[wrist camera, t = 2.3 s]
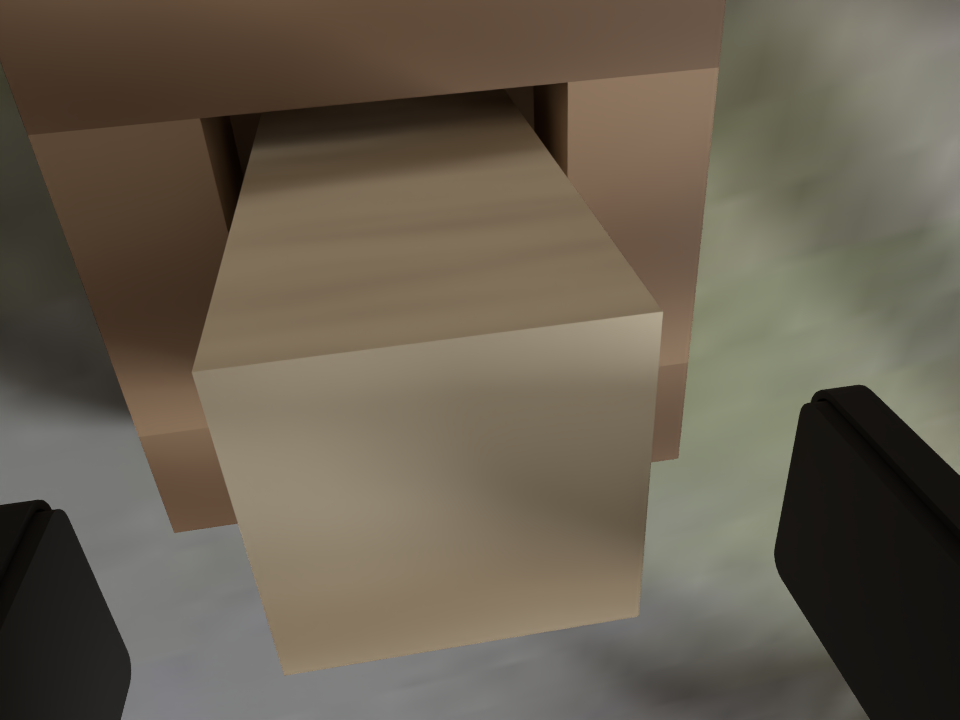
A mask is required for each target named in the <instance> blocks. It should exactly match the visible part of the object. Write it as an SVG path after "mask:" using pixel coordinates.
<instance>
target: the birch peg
mask: <svg viewBox="0 0 960 720" xmlns="http://www.w3.org/2000/svg"><path fill="white" fill-rule="evenodd" d="M662 319H663V311H662V309H661V308H660V307H659V305H658V304H657V302H656V301H655V300H654V298H653V297H652V295H651V294H650V293H649V291H648V290H647V288H646V287H645V286H644V284H643V283H642V281H641V280H640V279H639V277H638V276H637V274H636V273H635V272H634V270H633V269H632V267H631V266H630V265H629V263H628V262H627V260H626V259H625V258H624V256H623V255H622V253H621V252H620V251H619V249H618V248H617V246H616V245H615V244H614V242H613V241H612V239H611V238H610V237H609V235H608V234H607V232H606V231H605V230H604V228H603V227H602V225H601V224H600V223H599V221H598V220H597V218H596V217H595V216H594V214H593V213H592V211H591V210H590V209H589V207H588V206H587V204H586V203H585V202H584V200H583V199H582V197H581V196H580V195H579V193H578V192H577V190H576V189H575V188H574V186H573V185H572V183H571V182H570V181H569V179H568V178H567V176H566V175H565V174H564V172H563V171H562V169H561V168H560V167H559V165H558V164H557V162H556V161H555V160H554V158H553V157H552V155H551V154H550V153H549V151H548V150H547V148H546V147H545V146H544V144H543V143H542V141H541V140H540V139H539V137H538V136H537V134H536V133H535V132H534V130H533V129H532V127H531V126H530V125H529V123H528V122H527V121H526V119H525V118H524V116H523V115H522V114H521V112H520V111H519V109H518V108H517V107H516V105H515V104H514V102H513V101H512V100H511V98H510V97H509V95H508V94H507V93H506V91H505V90H504V89H495V90H484V91H474V92H464V93H454V94H444V95H433V96H423V97H413V98H403V99H393V100H382V101H372V102H362V103H352V104H342V105H331V106H321V107H311V108H301V109H291V110H280V111H270V112H262V114H261V117H260V121H259V125H258V128H257V132H256V136H255V139H254V143H253V147H252V151H251V154H250V158H249V162H248V165H247V169H246V173H245V176H244V180H243V184H242V188H241V191H240V195H239V199H238V202H237V206H236V210H235V214H234V217H233V221H232V225H231V228H230V232H229V236H228V239H227V243H226V247H225V251H224V254H223V258H222V262H221V265H220V269H219V273H218V277H217V280H216V284H215V288H214V291H213V295H212V299H211V302H210V306H209V310H208V314H207V317H206V321H205V325H204V328H203V332H202V336H201V339H200V343H199V347H198V351H197V354H196V358H195V362H194V365H193V369H192V375H193V378H194V381H195V385H196V388H197V391H198V395H199V398H200V401H201V404H202V408H203V411H204V414H205V418H206V421H207V424H208V427H209V431H210V434H211V437H212V440H213V444H214V447H215V450H216V454H217V457H218V460H219V463H220V467H221V470H222V473H223V476H224V480H225V483H226V486H227V490H228V493H229V496H230V499H231V503H232V506H233V509H234V512H235V516H236V519H237V522H238V526H239V529H240V532H241V535H242V539H243V542H244V545H245V549H246V552H247V555H248V558H249V562H250V565H251V568H252V571H253V575H254V578H255V581H256V585H257V588H258V591H259V594H260V598H261V601H262V604H263V607H264V611H265V614H266V617H267V621H268V624H269V627H270V630H271V634H272V637H273V640H274V643H275V647H276V650H277V653H278V657H279V660H280V663H281V666H282V670H283V673H284V676H285V675H291V674H297V673H303V672H309V671H315V670H321V669H327V668H333V667H339V666H345V665H351V664H357V663H363V662H369V661H375V660H381V659H387V658H393V657H399V656H405V655H410V654H416V653H422V652H428V651H434V650H440V649H446V648H452V647H458V646H464V645H470V644H476V643H482V642H488V641H494V640H500V639H506V638H512V637H518V636H524V635H530V634H536V633H542V632H548V631H554V630H560V629H566V628H572V627H578V626H584V625H590V624H596V623H602V622H608V621H614V620H620V619H626V618H632V617H638V616H639V606H640V593H641V581H642V568H643V556H644V543H645V531H646V518H647V506H648V493H649V481H650V468H651V456H652V443H653V431H654V419H655V406H656V394H657V381H658V369H659V356H660V344H661V331H662Z"/></svg>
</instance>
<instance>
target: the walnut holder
mask: <svg viewBox="0 0 960 720" xmlns="http://www.w3.org/2000/svg"><path fill="white" fill-rule="evenodd" d="M725 3H726V0H0V61H1V64H2V67H3V70H4V72H5V75H6V78H7V80H8V83H9V86H10V89H11V91H12V94H13V97H14V99H15V102H16V105H17V108H18V110H19V113H20V116H21V118H22V121H23V124H24V127H25V129H26V132H27V135H28V137H29V140H30V143H31V146H32V148H33V151H34V154H35V156H36V159H37V162H38V165H39V167H40V170H41V173H42V175H43V178H44V181H45V184H46V186H47V189H48V192H49V194H50V197H51V200H52V203H53V205H54V208H55V211H56V213H57V216H58V219H59V222H60V224H61V227H62V230H63V232H64V235H65V238H66V241H67V243H68V246H69V249H70V251H71V254H72V257H73V260H74V262H75V265H76V268H77V270H78V273H79V276H80V279H81V281H82V284H83V287H84V289H85V292H86V295H87V297H88V300H89V303H90V306H91V308H92V311H93V314H94V316H95V319H96V322H97V325H98V327H99V330H100V333H101V335H102V338H103V341H104V344H105V346H106V349H107V352H108V354H109V357H110V360H111V363H112V365H113V368H114V371H115V373H116V376H117V379H118V382H119V384H120V387H121V390H122V392H123V395H124V398H125V401H126V403H127V406H128V409H129V411H130V414H131V417H132V420H133V422H134V425H135V428H136V430H137V433H138V436H139V439H140V441H141V444H142V447H143V449H144V452H145V455H146V458H147V460H148V463H149V466H150V468H151V471H152V474H153V477H154V479H155V482H156V485H157V487H158V490H159V493H160V496H161V498H162V501H163V504H164V506H165V509H166V512H167V515H168V517H169V520H170V523H171V525H172V528H173V531H174V533H177V532H183V531H190V530H197V529H204V528H211V527H217V526H224V525H231V524H238V522H237V519H236V516H235V512H234V509H233V506H232V503H231V499H230V496H229V493H228V490H227V486H226V483H225V480H224V476H223V473H222V470H221V467H220V463H219V460H218V457H217V454H216V450H215V447H214V444H213V440H212V437H211V434H210V431H209V427H208V424H207V421H206V418H205V414H204V411H203V408H202V404H201V401H200V398H199V395H198V391H197V388H196V385H195V381H194V378H193V375H192V369H193V365H194V362H195V358H196V354H197V351H198V347H199V343H200V339H201V336H202V332H203V328H204V325H205V321H206V317H207V314H208V310H209V306H210V302H211V299H212V295H213V291H214V288H215V284H216V280H217V277H218V273H219V269H220V265H221V262H222V258H223V254H224V251H225V247H226V243H227V239H228V236H229V232H230V228H231V225H232V221H233V217H234V214H235V210H236V206H237V202H238V199H239V195H240V191H241V188H242V184H243V180H244V176H245V173H246V169H247V165H248V162H249V158H250V154H251V151H252V147H253V143H254V139H255V136H256V132H257V128H258V125H259V121H260V117H261V114H262V112H270V111H280V110H291V109H301V108H311V107H321V106H331V105H342V104H352V103H362V102H372V101H382V100H393V99H403V98H413V97H423V96H433V95H444V94H454V93H464V92H474V91H484V90H495V89H504V90H505V91H506V93H507V94H508V95H509V97H510V98H511V100H512V101H513V102H514V104H515V105H516V107H517V108H518V109H519V111H520V112H521V114H522V115H523V116H524V118H525V119H526V121H527V122H528V123H529V125H530V126H531V127H532V129H533V130H534V132H535V133H536V134H537V136H538V137H539V139H540V140H541V141H542V143H543V144H544V146H545V147H546V148H547V150H548V151H549V153H550V154H551V155H552V157H553V158H554V160H555V161H556V162H557V164H558V165H559V167H560V168H561V169H562V171H563V172H564V174H565V175H566V176H567V178H568V179H569V181H570V182H571V183H572V185H573V186H574V188H575V189H576V190H577V192H578V193H579V195H580V196H581V197H582V199H583V200H584V202H585V203H586V204H587V206H588V207H589V209H590V210H591V211H592V213H593V214H594V216H595V217H596V218H597V220H598V221H599V223H600V224H601V225H602V227H603V228H604V230H605V231H606V232H607V234H608V235H609V237H610V238H611V239H612V241H613V242H614V244H615V245H616V246H617V248H618V249H619V251H620V252H621V253H622V255H623V256H624V258H625V259H626V260H627V262H628V263H629V265H630V266H631V267H632V269H633V270H634V272H635V273H636V274H637V276H638V277H639V279H640V280H641V281H642V283H643V284H644V286H645V287H646V288H647V290H648V291H649V293H650V294H651V295H652V297H653V298H654V300H655V301H656V302H657V304H658V305H659V307H660V308H661V309H662V311H663V319H662V331H661V344H660V356H659V369H658V381H657V394H656V406H655V419H654V431H653V443H652V456H651V462H657V461H664V460H670V459H677V458H678V456H679V446H680V436H681V427H682V417H683V407H684V398H685V388H686V379H687V369H688V359H689V350H690V340H691V330H692V321H693V311H694V302H695V292H696V282H697V273H698V263H699V254H700V244H701V234H702V225H703V215H704V205H705V196H706V186H707V177H708V167H709V157H710V148H711V138H712V129H713V119H714V109H715V100H716V90H717V80H718V71H719V61H720V52H721V42H722V32H723V23H724V13H725Z"/></svg>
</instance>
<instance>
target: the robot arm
mask: <svg viewBox="0 0 960 720" xmlns="http://www.w3.org/2000/svg"><path fill="white" fill-rule="evenodd" d="M774 557H775V563H776V568H777V570H778V573H779V575H780V577H781V579H782V581H783V582H784V584H785V585H786V587H787V588H788V590H789V592H790V593H791V595H792V596H793V598H794V600H795V601H796V603H797V604H798V606H799V608H800V609H801V611H802V612H803V614H804V615H805V617H806V619H807V620H808V622H809V623H810V625H811V627H812V628H813V630H814V631H815V633H816V635H817V636H818V638H819V639H820V641H821V642H822V644H823V646H824V647H825V649H826V650H827V652H828V654H829V655H830V657H831V658H832V660H833V662H834V663H835V665H836V666H837V668H838V669H839V671H840V673H841V674H842V676H843V677H844V679H845V681H846V682H847V684H848V685H849V687H850V688H851V690H852V692H853V693H854V695H855V696H856V698H857V700H858V701H859V703H860V704H861V706H862V708H863V709H864V711H865V712H866V714H867V715H868V717H869V719H870V720H960V475H958V474H957V473H956V472H955V471H954V470H953V469H952V468H951V467H950V466H949V465H948V464H947V463H946V462H945V461H944V460H943V459H942V458H941V457H940V456H939V455H938V454H937V453H936V452H935V451H934V450H933V449H932V448H931V447H929V446H928V445H927V444H926V443H925V442H924V441H923V440H922V439H921V438H920V437H919V436H918V435H917V434H916V433H915V432H914V431H913V430H912V429H911V428H910V427H909V426H908V425H907V424H906V423H905V422H904V421H903V420H902V419H900V418H899V417H898V416H897V415H896V414H895V413H894V412H893V411H892V410H891V409H890V408H889V407H888V406H887V405H886V404H885V403H884V402H883V401H882V400H881V399H880V398H879V397H878V396H877V395H876V394H875V393H874V392H873V391H871V390H870V389H869V388H867V387H866V386H863V385H854V386H846V387H839V388H832V389H825V390H820V391H818V392H816V393H815V394H814V396H813V397H812V400H811V403H807V404H804V405H803V407H802V408H801V411H800V415H799V420H798V426H797V431H796V436H795V442H794V447H793V452H792V458H791V463H790V468H789V474H788V479H787V485H786V490H785V495H784V501H783V506H782V511H781V517H780V522H779V528H778V533H777V538H776V544H775V550H774ZM130 680H131V663H130V657H129V654H128V651H127V649H126V646H125V644H124V642H123V640H122V637H121V635H120V633H119V631H118V628H117V626H116V624H115V622H114V619H113V617H112V615H111V613H110V610H109V608H108V606H107V604H106V601H105V599H104V597H103V595H102V592H101V590H100V588H99V586H98V583H97V581H96V579H95V577H94V574H93V572H92V570H91V568H90V565H89V563H88V561H87V559H86V556H85V554H84V552H83V550H82V547H81V545H80V543H79V541H78V538H77V536H76V534H75V532H74V529H73V527H72V525H71V523H70V520H69V518H68V516H67V515H66V513H65V512H64V511H63V510H61V509H56V510H52V509H51V507H50V506H49V504H48V503H46V502H45V501H44V500H33V501H26V502H19V503H12V504H4V505H0V720H121V716H122V712H123V709H124V705H125V701H126V697H127V693H128V689H129V685H130Z"/></svg>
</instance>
